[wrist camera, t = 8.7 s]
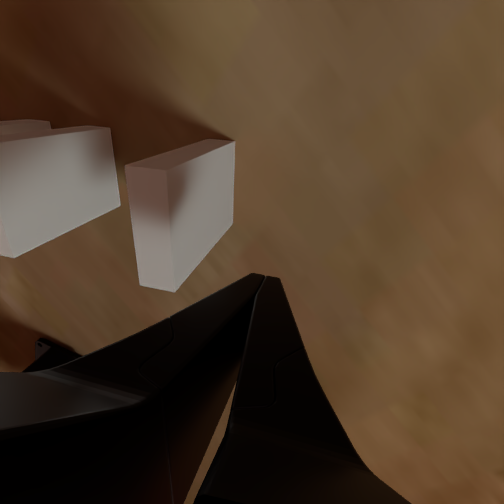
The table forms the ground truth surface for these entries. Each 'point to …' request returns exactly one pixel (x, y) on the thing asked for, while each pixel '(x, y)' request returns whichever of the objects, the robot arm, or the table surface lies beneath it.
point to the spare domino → (180, 209)
